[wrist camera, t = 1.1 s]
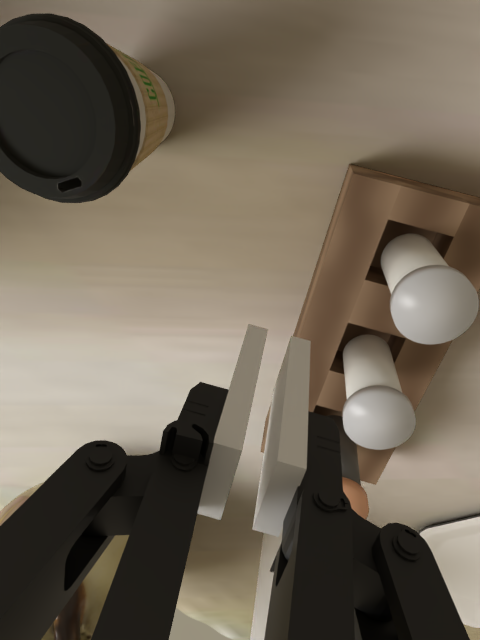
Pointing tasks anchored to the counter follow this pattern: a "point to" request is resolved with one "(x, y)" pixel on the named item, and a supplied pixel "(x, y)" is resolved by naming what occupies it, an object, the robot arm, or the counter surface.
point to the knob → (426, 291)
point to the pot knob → (351, 471)
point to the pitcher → (87, 602)
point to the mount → (378, 285)
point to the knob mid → (374, 396)
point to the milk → (264, 585)
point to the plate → (459, 563)
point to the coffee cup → (74, 109)
